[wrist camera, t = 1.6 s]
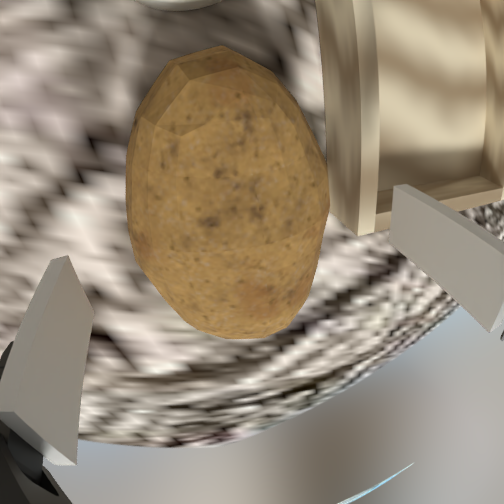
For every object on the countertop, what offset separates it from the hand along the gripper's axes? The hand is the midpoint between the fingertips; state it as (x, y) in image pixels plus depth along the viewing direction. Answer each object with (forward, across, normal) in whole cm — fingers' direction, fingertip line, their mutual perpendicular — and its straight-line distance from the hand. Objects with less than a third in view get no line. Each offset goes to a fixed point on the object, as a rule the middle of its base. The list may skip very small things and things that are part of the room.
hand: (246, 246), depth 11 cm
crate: (+8, +16, +6) cm, 19 cm away
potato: (+8, 0, 0) cm, 8 cm away
